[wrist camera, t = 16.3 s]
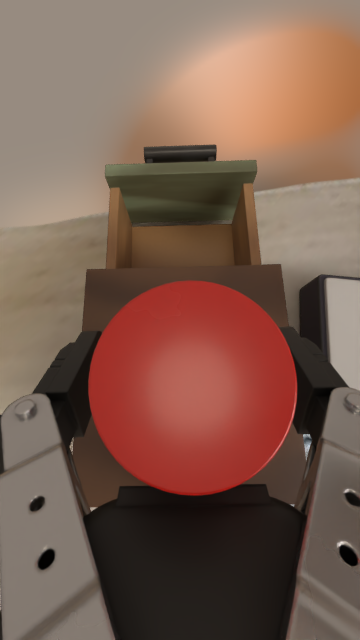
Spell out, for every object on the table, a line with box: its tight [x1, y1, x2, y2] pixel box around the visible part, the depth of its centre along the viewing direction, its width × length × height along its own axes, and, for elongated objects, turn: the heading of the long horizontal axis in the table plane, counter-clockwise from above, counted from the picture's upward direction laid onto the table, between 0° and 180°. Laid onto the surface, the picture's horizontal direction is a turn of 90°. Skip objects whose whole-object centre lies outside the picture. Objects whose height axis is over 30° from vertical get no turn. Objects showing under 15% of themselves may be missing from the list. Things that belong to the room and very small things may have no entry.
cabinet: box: [73, 264, 306, 507], centre depth 21 cm, size 15×14×8 cm
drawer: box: [105, 145, 261, 269], centre depth 24 cm, size 18×13×7 cm
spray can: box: [88, 280, 297, 496], centre depth 10 cm, size 5×5×12 cm
